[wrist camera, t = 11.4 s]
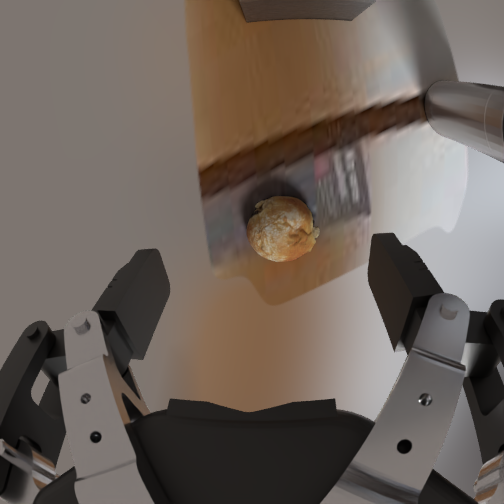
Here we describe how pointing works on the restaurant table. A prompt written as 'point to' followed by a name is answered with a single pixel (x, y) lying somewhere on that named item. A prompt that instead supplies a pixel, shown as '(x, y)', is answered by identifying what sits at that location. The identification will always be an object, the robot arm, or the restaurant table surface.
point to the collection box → (303, 9)
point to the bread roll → (282, 229)
